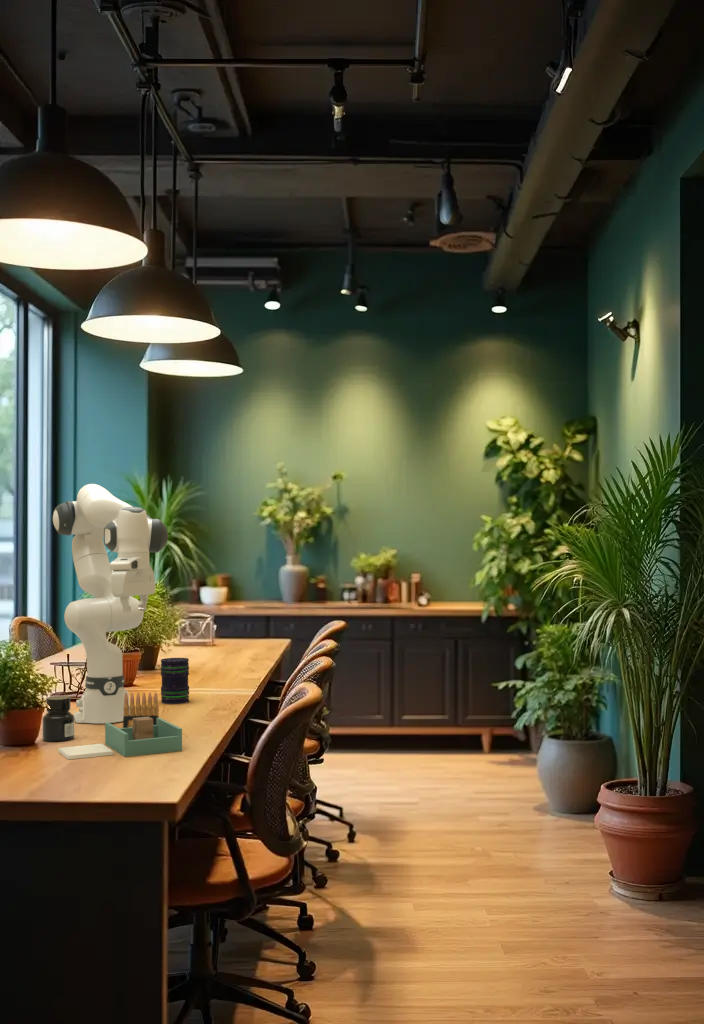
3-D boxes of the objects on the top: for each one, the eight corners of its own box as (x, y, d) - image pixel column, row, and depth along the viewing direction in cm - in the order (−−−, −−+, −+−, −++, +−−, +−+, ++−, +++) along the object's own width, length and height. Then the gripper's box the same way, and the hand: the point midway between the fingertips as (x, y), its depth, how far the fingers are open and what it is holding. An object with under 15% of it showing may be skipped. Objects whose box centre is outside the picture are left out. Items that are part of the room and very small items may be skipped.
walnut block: (132, 746, 305) (132, 718, 305) (148, 745, 307) (148, 716, 307) (137, 749, 301) (137, 720, 301) (153, 748, 303) (153, 719, 303)
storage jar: (191, 699, 388) (191, 657, 388) (186, 704, 378) (186, 661, 378) (163, 699, 388) (163, 657, 388) (158, 704, 378) (157, 661, 378)
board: (58, 751, 299) (58, 747, 299) (101, 747, 304) (101, 743, 304) (68, 759, 288) (68, 755, 288) (113, 754, 294) (113, 751, 294)
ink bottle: (74, 741, 313) (74, 699, 313) (42, 743, 311) (42, 701, 311) (73, 735, 323) (73, 694, 323) (42, 737, 320) (42, 696, 320)
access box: (105, 743, 309) (105, 722, 309) (159, 738, 316) (159, 717, 316) (124, 756, 291) (124, 734, 291) (182, 750, 299) (182, 728, 299)
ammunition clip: (159, 731, 327) (159, 691, 327) (158, 732, 325) (158, 692, 325) (123, 732, 327) (123, 692, 327) (122, 733, 325) (122, 693, 325)
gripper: (140, 563, 323) (141, 609, 323) (106, 564, 304) (107, 613, 303) (160, 562, 322) (161, 609, 321) (127, 563, 302) (128, 613, 302)
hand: (134, 611), depth 312 cm, fingers open, 8 cm apart
